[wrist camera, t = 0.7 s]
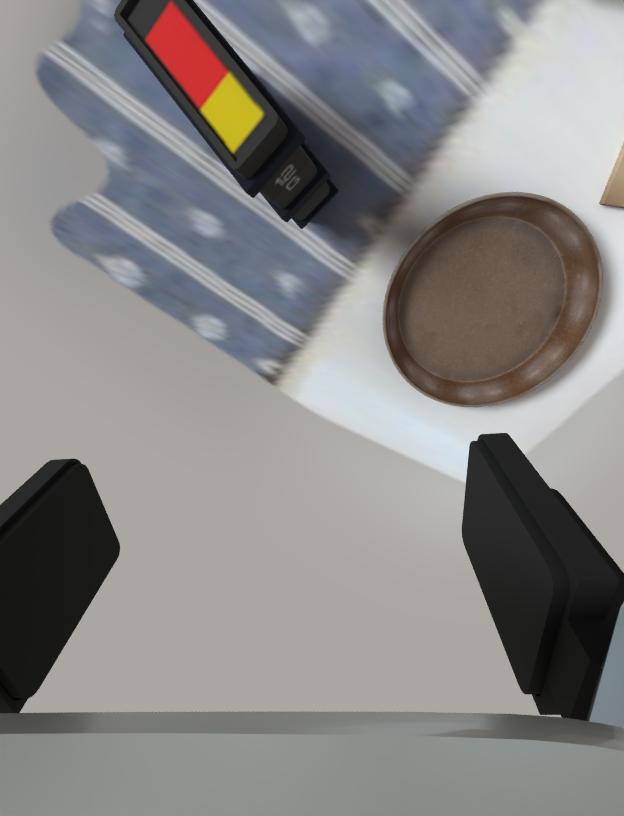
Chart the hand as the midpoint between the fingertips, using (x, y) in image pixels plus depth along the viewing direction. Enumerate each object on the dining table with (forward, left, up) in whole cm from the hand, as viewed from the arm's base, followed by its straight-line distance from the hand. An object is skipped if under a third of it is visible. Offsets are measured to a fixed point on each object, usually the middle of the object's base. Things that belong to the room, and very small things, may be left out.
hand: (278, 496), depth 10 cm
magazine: (-10, -6, -29) cm, 31 cm away
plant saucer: (0, +15, -29) cm, 33 cm away
